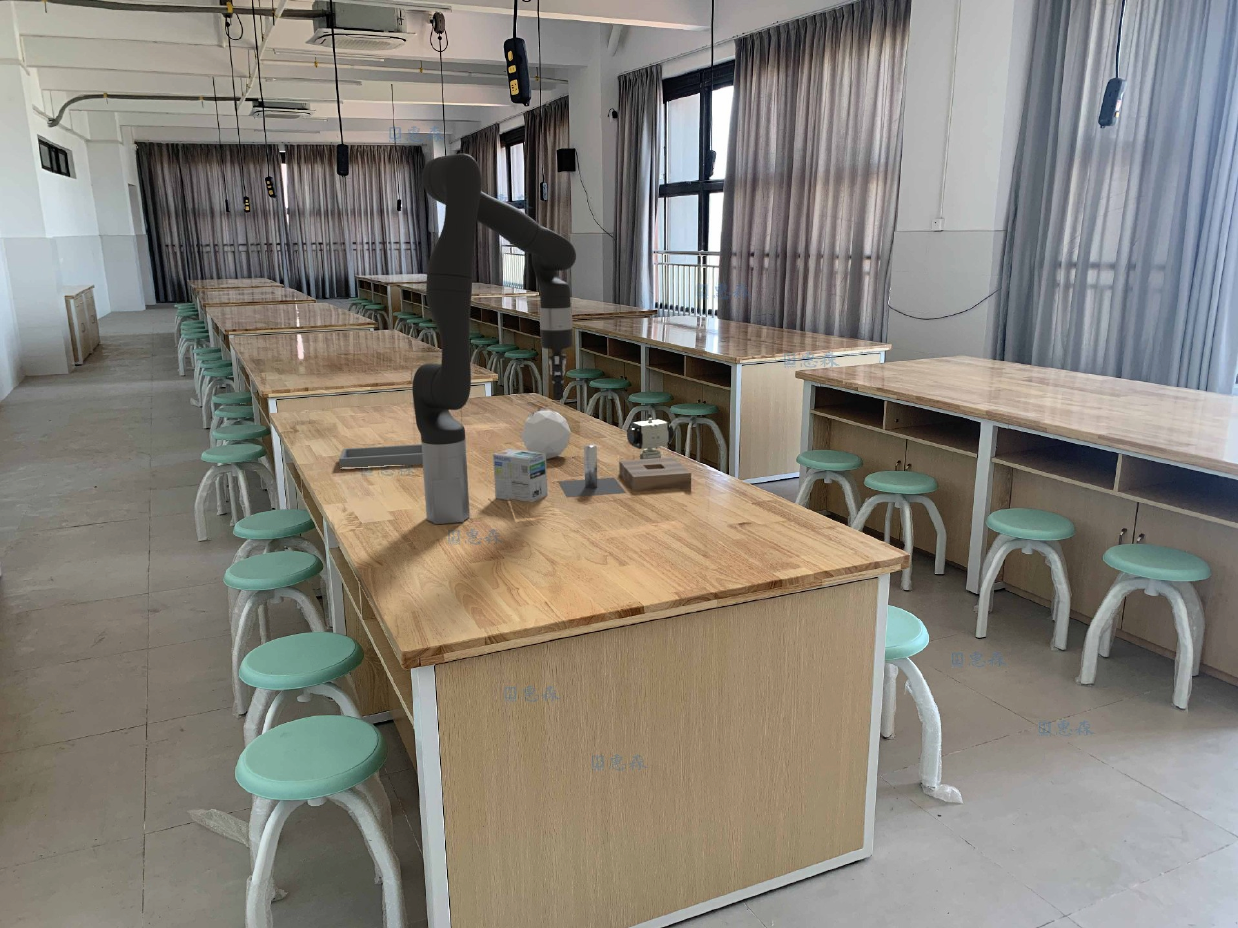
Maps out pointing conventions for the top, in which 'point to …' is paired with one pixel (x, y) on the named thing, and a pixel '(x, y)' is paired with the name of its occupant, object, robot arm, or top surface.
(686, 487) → the hole block
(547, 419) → the geodesic sphere
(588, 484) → the steel peg
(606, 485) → the rubber mat
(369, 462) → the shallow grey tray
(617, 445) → the top surface
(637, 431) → the pneumatic valve
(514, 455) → the light bulb box
